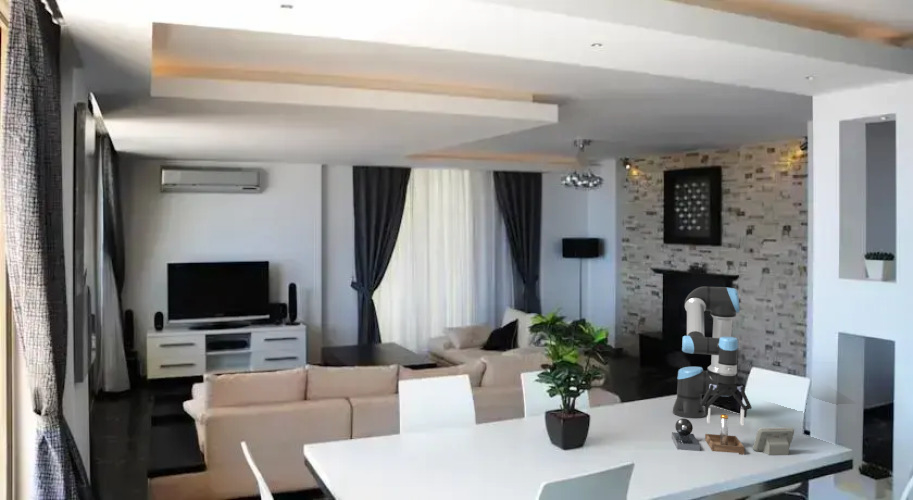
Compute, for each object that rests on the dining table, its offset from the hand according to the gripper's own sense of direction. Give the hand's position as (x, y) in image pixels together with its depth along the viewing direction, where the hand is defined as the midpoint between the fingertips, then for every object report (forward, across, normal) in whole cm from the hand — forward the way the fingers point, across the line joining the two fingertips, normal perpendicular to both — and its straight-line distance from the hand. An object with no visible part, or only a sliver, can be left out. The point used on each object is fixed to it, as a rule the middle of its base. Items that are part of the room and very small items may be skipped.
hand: (725, 423), depth 301 cm
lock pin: (+10, 0, 0) cm, 10 cm away
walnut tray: (+10, 0, 0) cm, 10 cm away
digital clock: (+10, +20, -1) cm, 22 cm away
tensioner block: (+10, -16, -1) cm, 19 cm away
